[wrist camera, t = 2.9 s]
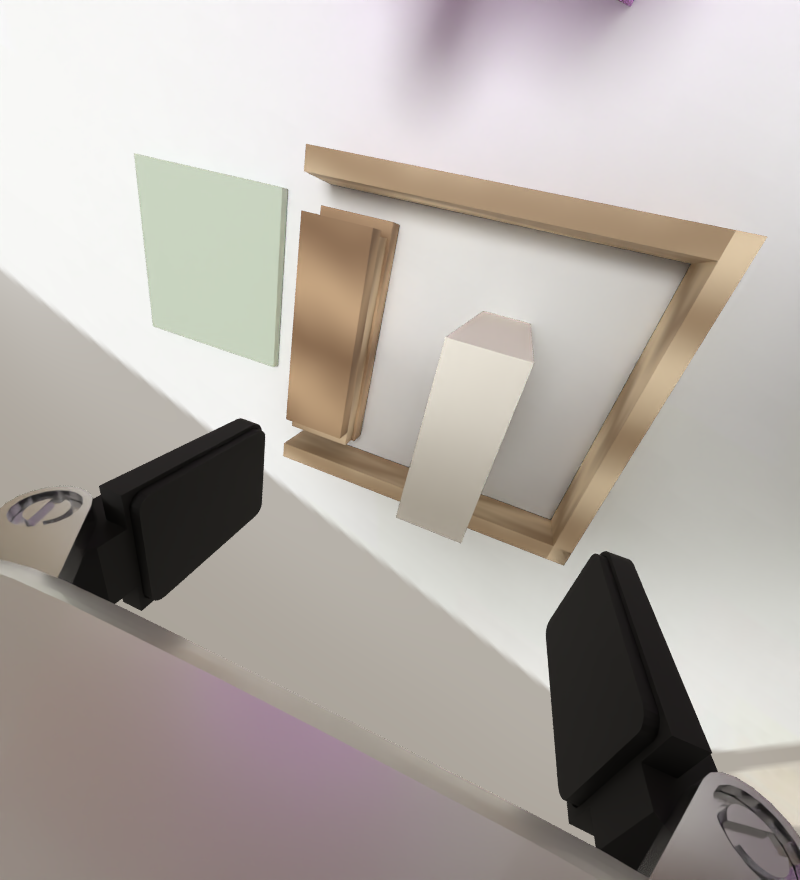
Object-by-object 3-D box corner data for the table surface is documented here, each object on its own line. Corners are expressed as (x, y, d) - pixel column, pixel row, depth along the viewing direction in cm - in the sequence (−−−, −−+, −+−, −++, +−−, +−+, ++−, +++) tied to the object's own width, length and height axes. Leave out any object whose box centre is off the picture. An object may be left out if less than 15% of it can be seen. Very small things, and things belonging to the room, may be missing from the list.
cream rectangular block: (483, 311, 22) (445, 336, 12) (530, 323, 22) (533, 363, 11) (448, 422, 26) (395, 517, 16) (487, 436, 25) (460, 543, 15)
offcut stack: (330, 208, 23) (299, 197, 20) (399, 225, 22) (378, 215, 19) (308, 416, 30) (282, 432, 27) (360, 435, 29) (339, 454, 26)
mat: (142, 156, 25) (134, 153, 25) (287, 189, 23) (282, 187, 23) (159, 325, 31) (152, 326, 30) (277, 365, 29) (273, 367, 28)
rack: (332, 160, 22) (306, 143, 19) (731, 243, 18) (767, 236, 15) (303, 441, 31) (283, 455, 28) (560, 538, 27) (563, 565, 24)
